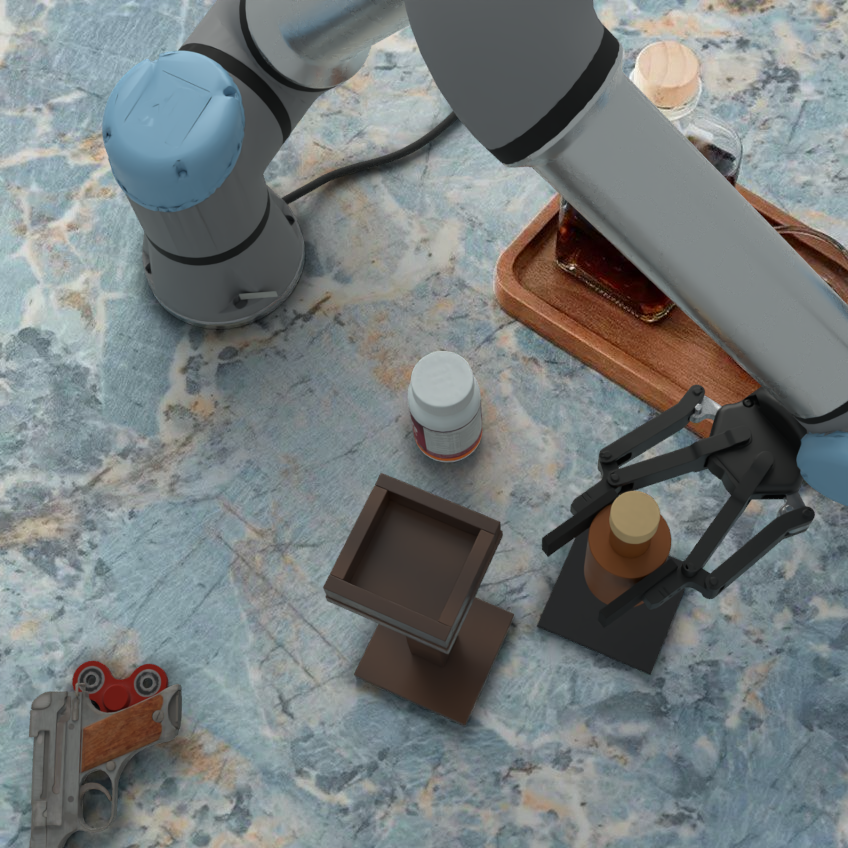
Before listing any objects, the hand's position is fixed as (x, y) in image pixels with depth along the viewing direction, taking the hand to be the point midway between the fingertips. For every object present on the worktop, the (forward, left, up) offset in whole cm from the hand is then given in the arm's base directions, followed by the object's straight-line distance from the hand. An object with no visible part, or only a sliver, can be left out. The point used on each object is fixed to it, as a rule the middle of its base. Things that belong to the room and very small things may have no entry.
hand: (573, 582), depth 95 cm
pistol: (+25, -23, -13) cm, 36 cm away
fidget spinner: (+20, -32, -14) cm, 41 cm away
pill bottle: (-12, -16, -14) cm, 25 cm away
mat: (-4, +3, -14) cm, 15 cm away
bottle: (-4, +3, -7) cm, 9 cm away
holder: (+6, -9, -14) cm, 18 cm away
